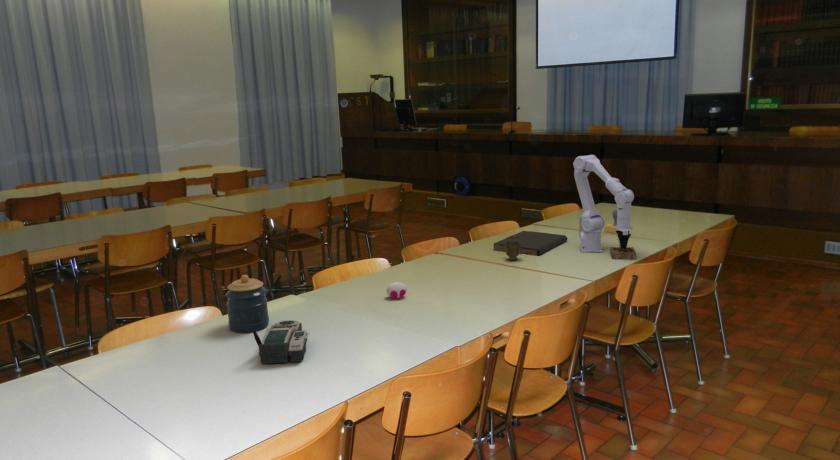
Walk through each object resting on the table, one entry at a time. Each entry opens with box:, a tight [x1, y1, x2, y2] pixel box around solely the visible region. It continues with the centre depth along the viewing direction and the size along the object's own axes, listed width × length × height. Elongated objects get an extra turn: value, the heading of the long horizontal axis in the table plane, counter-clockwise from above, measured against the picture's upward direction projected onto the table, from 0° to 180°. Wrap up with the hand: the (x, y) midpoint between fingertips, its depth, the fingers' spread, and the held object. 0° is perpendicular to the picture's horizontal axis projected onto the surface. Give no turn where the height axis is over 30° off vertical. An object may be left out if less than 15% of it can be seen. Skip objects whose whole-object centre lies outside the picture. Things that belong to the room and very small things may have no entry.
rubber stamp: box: [603, 209, 619, 235], centre depth 325 cm, size 10×6×12 cm, turn 48°
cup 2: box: [578, 216, 592, 238], centre depth 317 cm, size 8×8×10 cm
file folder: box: [493, 230, 568, 257], centre depth 303 cm, size 33×4×24 cm
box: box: [609, 246, 637, 260], centre depth 278 cm, size 10×10×3 cm
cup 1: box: [504, 241, 521, 261], centre depth 278 cm, size 8×7×8 cm
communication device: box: [252, 319, 310, 365], centre depth 188 cm, size 14×28×10 cm, turn 5°
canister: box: [225, 274, 270, 334], centre depth 205 cm, size 13×13×18 cm
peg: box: [618, 239, 626, 252], centre depth 277 cm, size 3×3×8 cm
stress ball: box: [386, 281, 408, 300], centre depth 230 cm, size 8×8×7 cm
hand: (622, 247), depth 277 cm, fingers closed on peg, 3 cm apart
